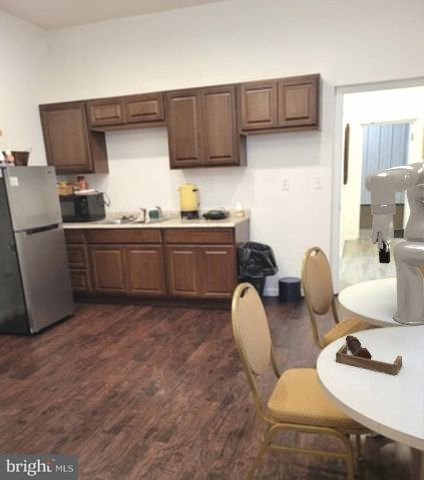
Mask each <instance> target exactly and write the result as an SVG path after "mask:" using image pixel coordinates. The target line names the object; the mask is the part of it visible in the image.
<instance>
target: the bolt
mask: <svg viewBox="0 0 424 480" xmlns="http://www.w3.org/2000/svg"><path fill="white" fill-rule="evenodd" d="M345 345H347V349H349V350H350V351H352V352H353V353H352V356H357V357H362V358H366V359H371V360H372V359H373V356H372V354H371V353H370V351H369V350H368V349H367V347H362V343H361V342H360V340H359V338H358V337H356V336H354V335H346V337H345Z"/></svg>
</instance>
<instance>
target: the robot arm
mask: <svg viewBox="0 0 424 480" xmlns="http://www.w3.org/2000/svg"><path fill="white" fill-rule="evenodd" d="M364 181H365V182H364V185H365V189H366V191H368V192H369V193H370V214H371V216H372V223H371V243H372V245H376V244H377V248H378V263H379V264H385V265H386V264H387V265H388V264H390V263H391V242H392V241H393V240H394V237H395V236H394V235H395V229H394V225H395V224H394V215H396V213H397V212H396V211H397V209H396V208H397V207H396V193H402V192H405V191H406V199H407V204H408V207H409V211H410V212H409V217H408V219H407V222H406V224H405V225H406V226H405V229H404V233H403V236H404V239H405V241H400V242H397V243H396V244H395V245H394V247H393V250H392V252H393V253H392V255H393V260H394V265H395V274H396V309H397V311H396V312H394V313H393V315H392V317H393V320H394V321H396V322H398V323H400V324H404V325H409V326H410V325H411V326H419V325H424V274H423V272H422V271H421V269H420V268H424V161H422V162H421V161H420V162H414V163H410V164H405V165H401V166H395V167H391V168H384V169H379V170H375V171H371V172H370V173H368V174H367V176H366V177H365V180H364Z"/></svg>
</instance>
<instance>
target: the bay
mask: <svg viewBox="0 0 424 480" xmlns="http://www.w3.org/2000/svg"><path fill="white" fill-rule="evenodd" d="M335 362H336V363H340V364H343V365H348V366H353V367H356V368H362V369H365V370H369V371H374V372H379V373H382V372H384V373H383V374H387V373H389V374H388V375H391V374H393V375H392V376H395V375H397V376H398V375H399V372H400V371H401V368H402V366H403V356H401V355H397V356H396V358H395V360H394V362H393V363H390V362H385V361H380V360H376V359H375V360H374V359H372V358H371V359H366V358H362V357H357V356H353V354H352V355H351V354H349V353H348V346H347V345H346V344H342V345H341V346H340V348H339V349H338V350H337V351H336V352H335Z"/></svg>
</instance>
